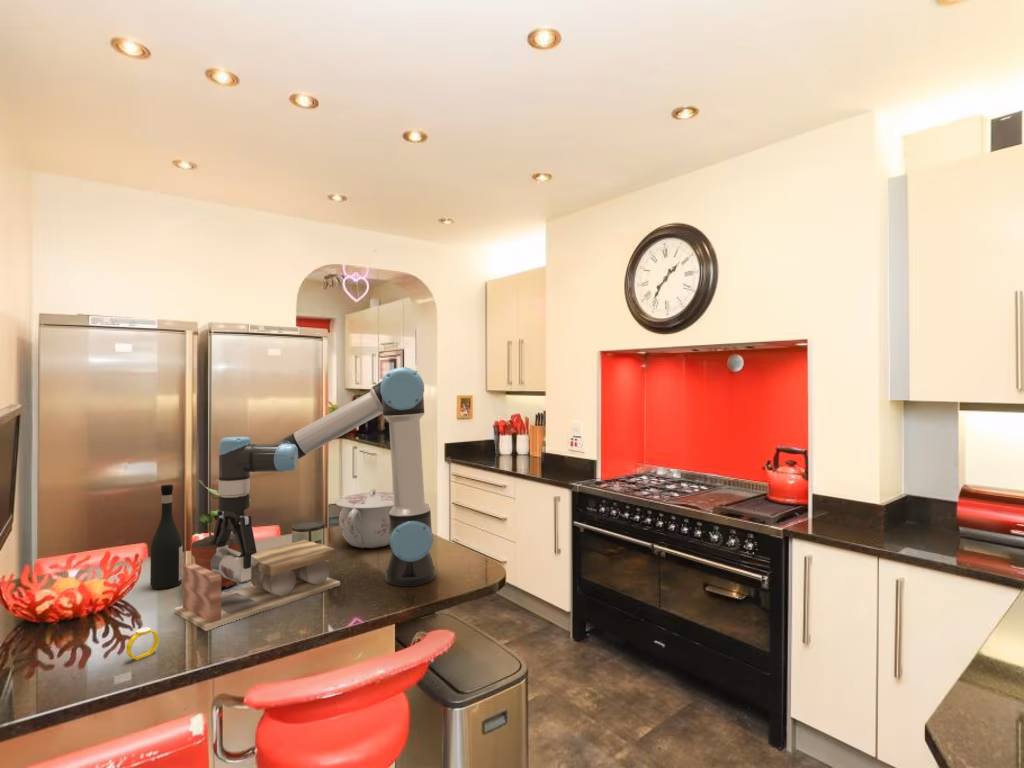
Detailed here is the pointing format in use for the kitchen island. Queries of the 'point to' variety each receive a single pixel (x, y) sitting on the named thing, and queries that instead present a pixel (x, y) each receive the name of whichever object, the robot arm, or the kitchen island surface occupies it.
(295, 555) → the oak slab
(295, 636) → the kitchen island surface
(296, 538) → the coffee can
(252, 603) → the roller bed
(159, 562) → the wine bottle
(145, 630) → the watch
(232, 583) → the potted plant
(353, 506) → the chamber pot
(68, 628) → the kitchen island surface
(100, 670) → the kitchen island surface
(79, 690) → the kitchen island surface
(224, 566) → the loose roller
